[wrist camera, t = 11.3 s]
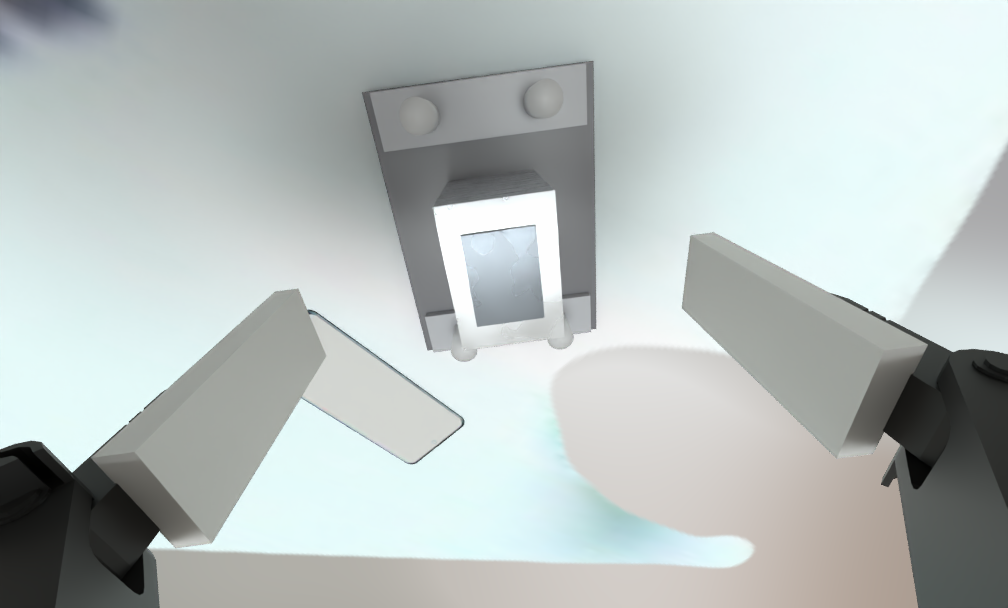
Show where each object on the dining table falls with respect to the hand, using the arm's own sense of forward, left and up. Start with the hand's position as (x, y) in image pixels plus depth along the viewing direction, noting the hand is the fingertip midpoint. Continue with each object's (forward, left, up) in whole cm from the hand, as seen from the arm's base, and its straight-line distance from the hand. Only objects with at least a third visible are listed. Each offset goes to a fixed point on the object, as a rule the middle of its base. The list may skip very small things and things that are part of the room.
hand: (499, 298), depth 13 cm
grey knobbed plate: (0, 0, -12) cm, 12 cm away
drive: (+1, 0, -11) cm, 11 cm away
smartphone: (+12, -12, -12) cm, 21 cm away
